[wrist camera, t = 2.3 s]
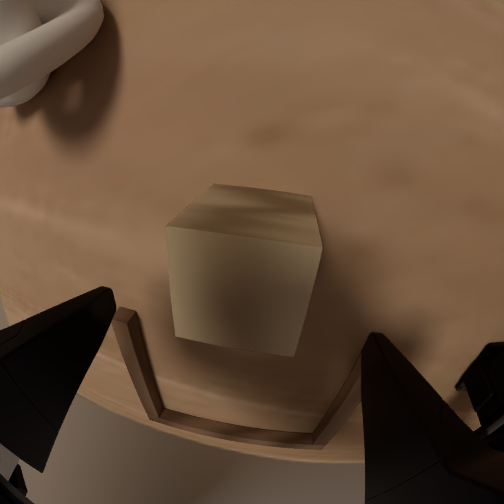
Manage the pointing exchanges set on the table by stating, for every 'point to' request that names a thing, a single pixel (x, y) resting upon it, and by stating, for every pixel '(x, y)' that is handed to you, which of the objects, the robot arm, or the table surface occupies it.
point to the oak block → (243, 268)
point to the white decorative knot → (41, 41)
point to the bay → (148, 394)
